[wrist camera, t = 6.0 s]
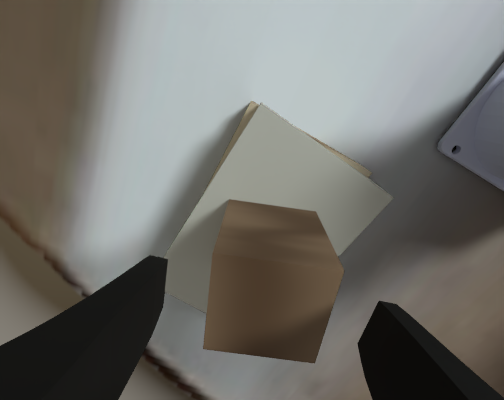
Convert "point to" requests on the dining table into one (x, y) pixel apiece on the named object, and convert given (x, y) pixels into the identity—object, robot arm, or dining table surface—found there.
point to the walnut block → (271, 283)
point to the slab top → (271, 197)
